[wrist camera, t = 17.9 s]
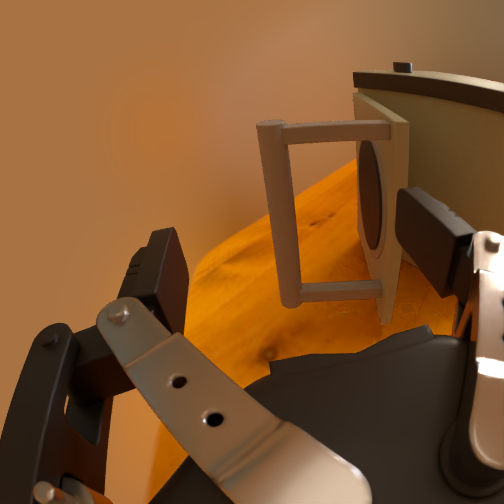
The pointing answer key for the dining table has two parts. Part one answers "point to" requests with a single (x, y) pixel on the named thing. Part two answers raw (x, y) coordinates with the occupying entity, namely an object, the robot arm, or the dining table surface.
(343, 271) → the dining table surface
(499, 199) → the washer
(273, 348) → the dining table surface
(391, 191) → the washer door
